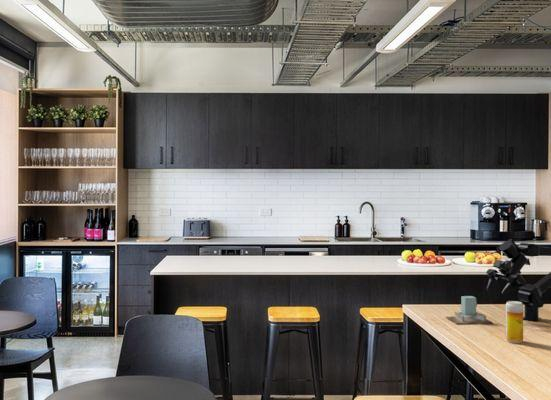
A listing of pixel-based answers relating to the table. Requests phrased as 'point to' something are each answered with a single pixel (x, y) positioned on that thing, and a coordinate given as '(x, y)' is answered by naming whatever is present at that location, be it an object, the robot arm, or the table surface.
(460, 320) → the brown framed base board
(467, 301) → the pale blue box
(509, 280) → the robot arm
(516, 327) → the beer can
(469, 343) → the table surface
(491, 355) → the table surface
